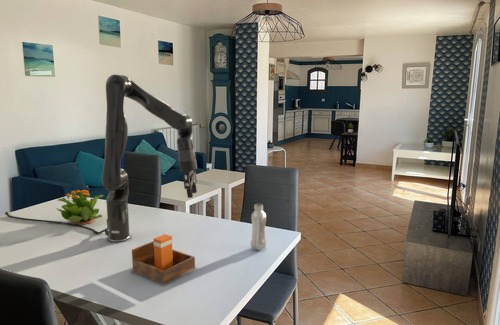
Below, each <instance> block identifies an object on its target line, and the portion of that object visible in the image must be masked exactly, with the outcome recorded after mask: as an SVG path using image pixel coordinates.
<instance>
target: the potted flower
mask: <svg viewBox="0 0 500 325" xmlns="http://www.w3.org/2000/svg"><path fill="white" fill-rule="evenodd" d="M65 196H66V197H64V196H63V197H62V198H58V199H57V201H58V202H63V203H65V204H62V205H61V209H60V208H58V207H56V210H57V211H58V212H60V214H61V217H62V218H63V219H65V220H66V221H70V222H73V224H78V225H82V226H84V225H87V224H88V225H89V224H91V223H93V222H94V221H95V219H99V218H102V217H103V214H99V213H100V208H96V207H95V206H96V204H97V203H98V199H99V198H102V197H104V195H103V194H98V195H95V196H94V197H93V198H92V197H91V198H90V190H87V189H82V190H79V189H77V190H71V191H70V193H66V194H65ZM70 198H71V199H70ZM88 198H90V199H88Z"/></svg>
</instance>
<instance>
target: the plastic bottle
mask: <svg viewBox="0 0 500 325" xmlns="http://www.w3.org/2000/svg"><path fill="white" fill-rule="evenodd" d="M253 209H254V211H252V213H251V216H250V219H251V229H252V231H251V232H252V233H251V239H250V247H251V248H252V250H255V251H261V250H264V249H266V246H267V240H266V222H267V214H266V212H265V211H264V204H262V203H255V204H254V206H253Z"/></svg>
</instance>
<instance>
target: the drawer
mask: <svg viewBox="0 0 500 325" xmlns="http://www.w3.org/2000/svg"><path fill="white" fill-rule="evenodd" d="M172 251H173V267H171V268H168V269H166V270H164V271H163V270H161V269H158V268H156V267H155V258H154V240H153V241H151V242H147V243H144V244H143V245H140V246H137V247H135V248H132V249H131V261H132V262H131V263H132V272H135V273H137V274H139V275H142V276H144V277H146V278H148V279H151V280H153V281H155V282H158V283H160V284H162V285H166V284H168V283H169V282H171V281H173V280H175V279H177V278H179V277H182V276H183V275H185V274H186V273H188V272H190V271H192V270H195V269H196V257H195V256H193V255H191V254H188V253H184V252H181V251H179V250H176V249H173V248H172Z"/></svg>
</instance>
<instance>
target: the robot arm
mask: <svg viewBox="0 0 500 325" xmlns="http://www.w3.org/2000/svg"><path fill="white" fill-rule="evenodd" d="M125 98H128V99H130V100H131V101H134V102H136V103H137V104H139V105H141V106H142V107H143V109H145V110H146V111H147V112H149V113H150V114H152V115H153V116H155V117H157V118H158V119H160V120H162V121H164V122H165V123H166V124H167V125H169V127H171V128H173V129H174V130H177V138H176V147H177V157H178V164H179V169H180V172H184V174H183V175H182V179H183V186H184V190H186V195H187V196H186V197H187V198H188V199H190V198H191V199H192V198H193V197H194V194H196V193H198V189H197V183H198V179H197V173H196V171H197V169H198V164H197V162H198V161H197V155H196V151H195V146H194V139H193V120H192V118H191V117H190V115H188V114H186V113H181V112H178V111H176V110H175V109H174V108H173V107H172V106H171V105H170V104H168V103H166V102H165V101H163V100H161V99H159V98H158V97H156V96H155V95H152V94H151V93H149V92H147V91H146V90H144V89H143V88H142V87H141V86H140V85H138V84H136V82H135V81H133V80H132V79H131V78H130V77H128V76H127V75H124V74H116V73H115V74H111V75H109V76H108V77H107V79H106V81H105V99H106V115H105V116H106V117H105V136H104V138H105V139H104V146H105V147H104V160H103V167H102V168H103V169H102V174H101V184H102V186H103V188H104V189H105V190H107V191H108V195H107V196H106V198H105V199H106V200H105V202H106V203H105V204H106V216H107V218H106V228H104V229H102V230H100V231H97V230H95V229H94V228H91V227H88V226H85V225H78V224H75V223H74V222H73V223H72V222H66V221H58V220H48V219H36V218H35V219H34V218H24V217H20V216H14V215H10V214H9V212H8V211H5V212H4V215H6V217H7V218H10V219H15V220H22V221H30V222H40V223H49V224H50V223H51V224H61V225H68V226H73V227H78V228H81V229H86V230H89V231H91V232H93V233H94V234H96V235H100V234H103V233H104V235H105V236H106V237H107V239H108V241H109V242H113V243H120V242H126V241H128V240H129V239H130V238H131V234H130V219H129V218H130V216H129V203H128V202H129V200H128V199H129V195H130V187H129V186H130V182H129V181H130V180H129V175H128V173H127V171H126V170H125V169H123V168H121V163H122V158H123V155H124V152H125V150H126V147H127V143H128V133H129V132H128V131H129V128H128V122H127V118H126V115H125V110H124V109H125V108H124V104H125V102H124V101H125Z"/></svg>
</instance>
